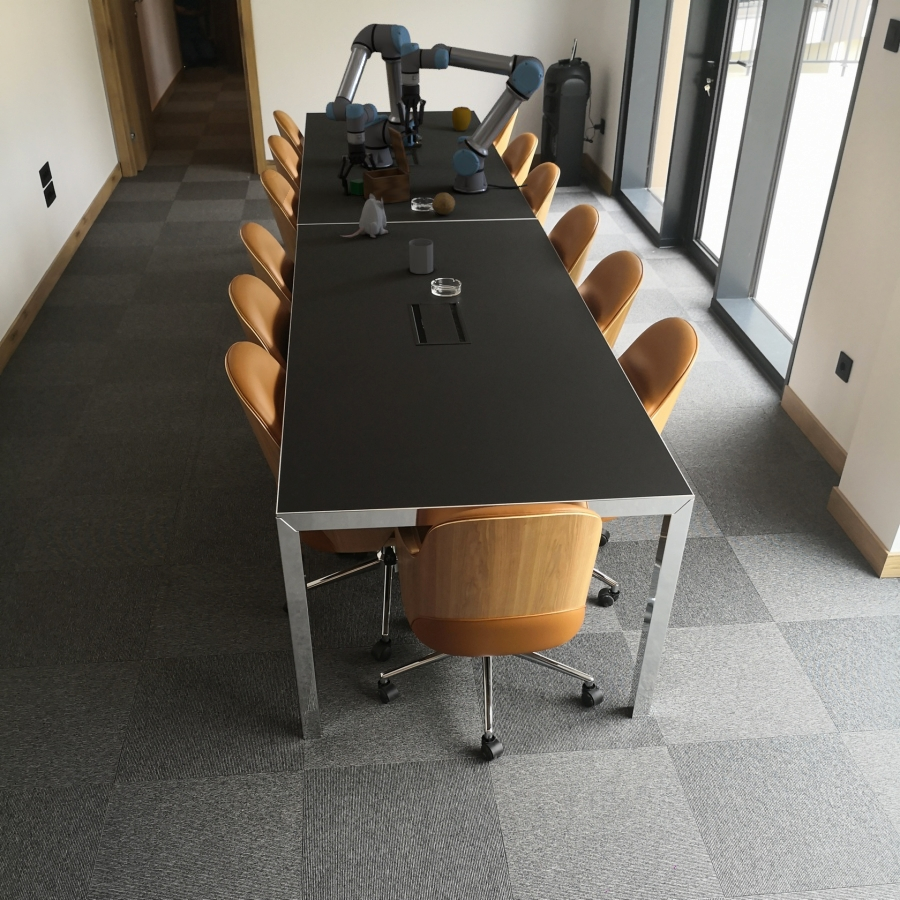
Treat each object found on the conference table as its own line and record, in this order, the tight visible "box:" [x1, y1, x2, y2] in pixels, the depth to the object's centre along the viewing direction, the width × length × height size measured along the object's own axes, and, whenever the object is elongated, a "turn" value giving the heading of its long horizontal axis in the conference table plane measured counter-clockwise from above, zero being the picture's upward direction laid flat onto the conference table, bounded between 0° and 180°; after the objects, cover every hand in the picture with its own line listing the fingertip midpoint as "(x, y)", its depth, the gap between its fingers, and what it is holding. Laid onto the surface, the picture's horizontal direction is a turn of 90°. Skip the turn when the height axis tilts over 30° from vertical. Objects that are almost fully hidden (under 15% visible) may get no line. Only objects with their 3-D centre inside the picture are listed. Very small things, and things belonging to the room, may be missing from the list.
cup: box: [408, 237, 434, 275], centre depth 305 cm, size 8×8×10 cm
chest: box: [362, 167, 411, 205], centre depth 377 cm, size 17×12×11 cm
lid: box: [388, 127, 417, 174], centre depth 373 cm, size 17×12×9 cm
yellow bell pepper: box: [451, 105, 472, 132], centre depth 487 cm, size 11×11×13 cm
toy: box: [341, 194, 389, 239], centre depth 333 cm, size 9×24×15 cm, turn 137°
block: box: [349, 178, 364, 196], centre depth 386 cm, size 6×6×6 cm
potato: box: [431, 192, 456, 216], centre depth 360 cm, size 10×14×8 cm
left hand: (359, 192), depth 388 cm, fingers open, 11 cm apart
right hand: (412, 142), depth 372 cm, fingers closed on lid, 2 cm apart
